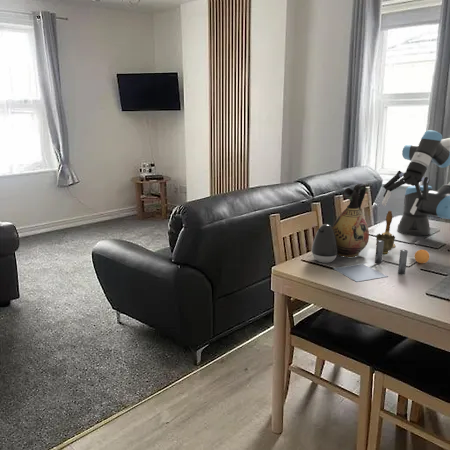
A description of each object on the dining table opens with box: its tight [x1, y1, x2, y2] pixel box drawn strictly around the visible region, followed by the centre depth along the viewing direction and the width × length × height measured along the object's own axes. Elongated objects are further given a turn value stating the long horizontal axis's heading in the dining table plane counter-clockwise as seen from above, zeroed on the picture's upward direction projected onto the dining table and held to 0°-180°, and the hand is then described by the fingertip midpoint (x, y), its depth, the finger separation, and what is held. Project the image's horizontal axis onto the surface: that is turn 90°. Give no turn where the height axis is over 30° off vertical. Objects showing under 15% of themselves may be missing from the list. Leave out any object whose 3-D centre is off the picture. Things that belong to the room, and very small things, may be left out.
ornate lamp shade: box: [376, 232, 396, 256], centre depth 188 cm, size 8×7×8 cm
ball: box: [414, 249, 430, 264], centre depth 177 cm, size 6×6×6 cm
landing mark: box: [332, 263, 389, 283], centre depth 167 cm, size 14×14×1 cm
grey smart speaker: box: [311, 223, 338, 264], centre depth 177 cm, size 10×10×15 cm
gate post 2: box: [397, 249, 409, 276], centre depth 165 cm, size 3×3×9 cm
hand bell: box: [375, 210, 396, 249], centre depth 198 cm, size 8×8×16 cm
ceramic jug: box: [332, 183, 370, 258], centre depth 184 cm, size 17×15×30 cm
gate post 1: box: [374, 240, 384, 265], centre depth 177 cm, size 3×3×9 cm
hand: (397, 209), depth 193 cm, fingers open, 13 cm apart
